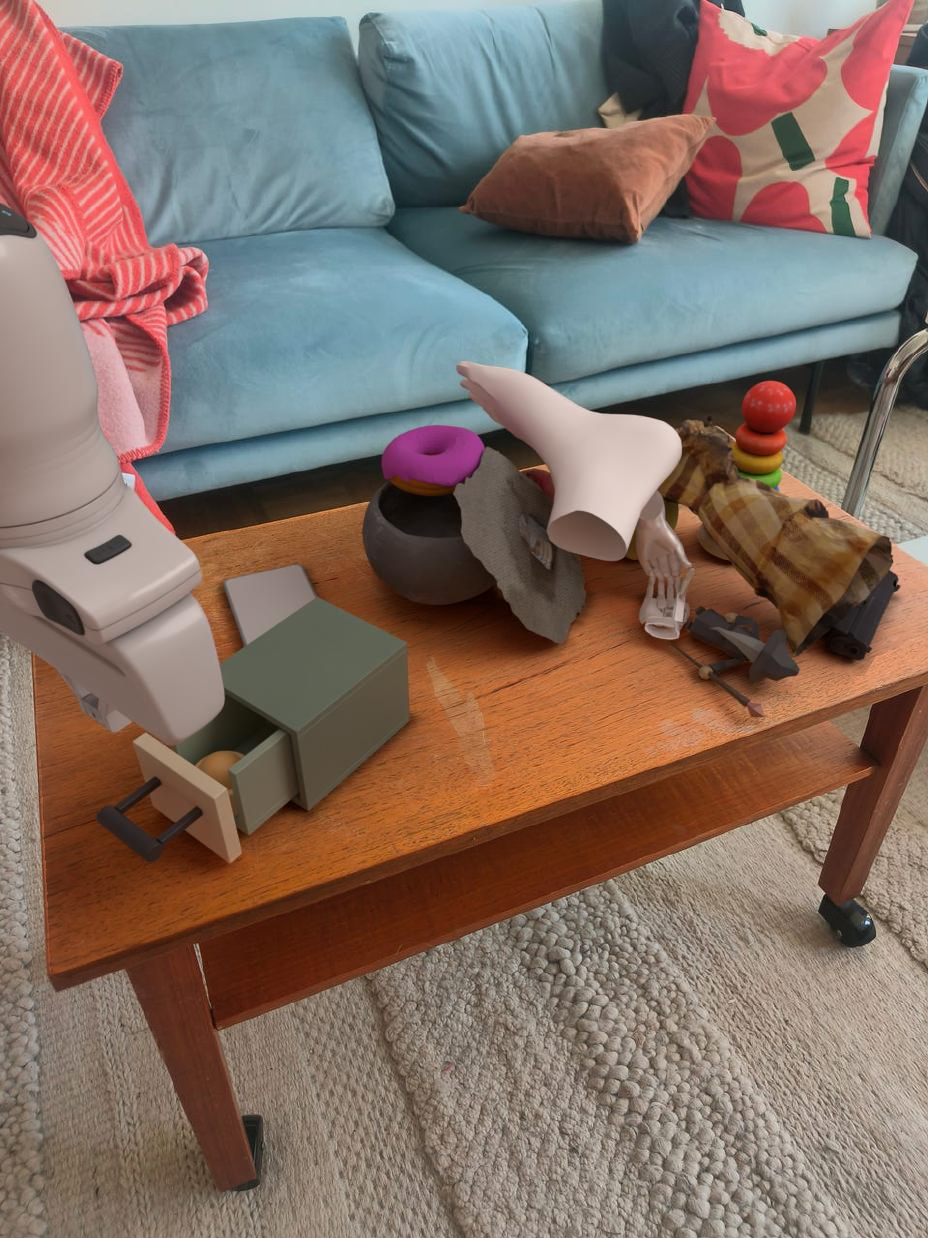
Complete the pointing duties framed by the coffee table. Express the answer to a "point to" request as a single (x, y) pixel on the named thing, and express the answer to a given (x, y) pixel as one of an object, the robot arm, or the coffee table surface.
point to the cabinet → (324, 690)
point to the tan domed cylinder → (221, 770)
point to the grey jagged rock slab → (520, 546)
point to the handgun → (863, 621)
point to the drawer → (210, 784)
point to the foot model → (581, 457)
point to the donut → (432, 459)
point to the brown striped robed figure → (777, 538)
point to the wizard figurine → (741, 651)
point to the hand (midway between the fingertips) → (109, 717)
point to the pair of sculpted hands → (662, 571)
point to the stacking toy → (759, 441)
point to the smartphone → (267, 598)
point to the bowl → (421, 547)
